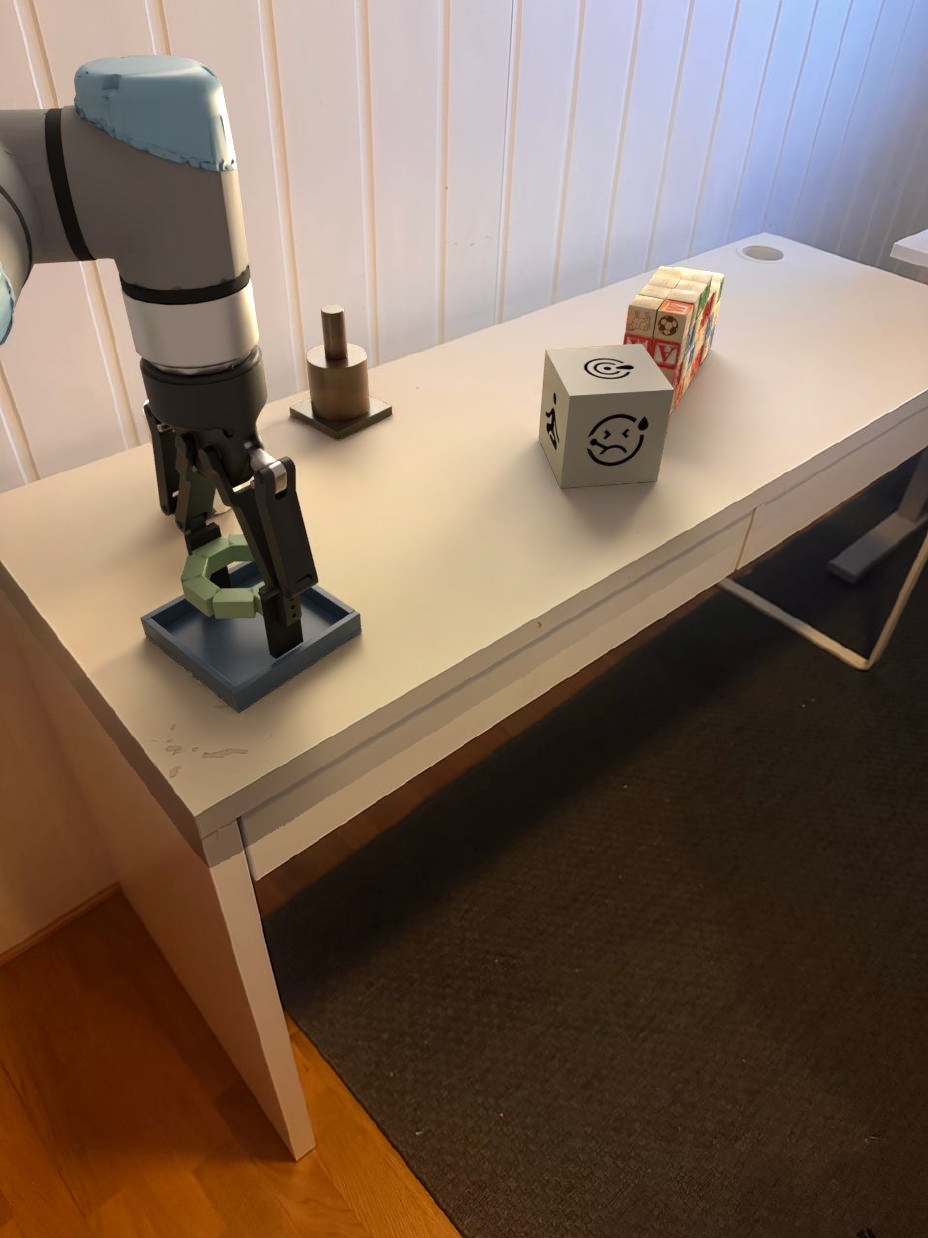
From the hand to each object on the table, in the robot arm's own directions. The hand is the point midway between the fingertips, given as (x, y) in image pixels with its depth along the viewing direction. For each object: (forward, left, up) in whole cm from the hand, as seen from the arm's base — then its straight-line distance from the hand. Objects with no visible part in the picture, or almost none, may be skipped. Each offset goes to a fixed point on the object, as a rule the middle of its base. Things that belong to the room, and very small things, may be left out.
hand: (250, 621), depth 71 cm
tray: (0, 0, -1) cm, 1 cm away
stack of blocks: (-1, +62, -2) cm, 62 cm away
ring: (0, 0, +4) cm, 4 cm away
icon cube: (+4, +41, -2) cm, 41 cm away
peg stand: (-22, +29, -1) cm, 36 cm away
